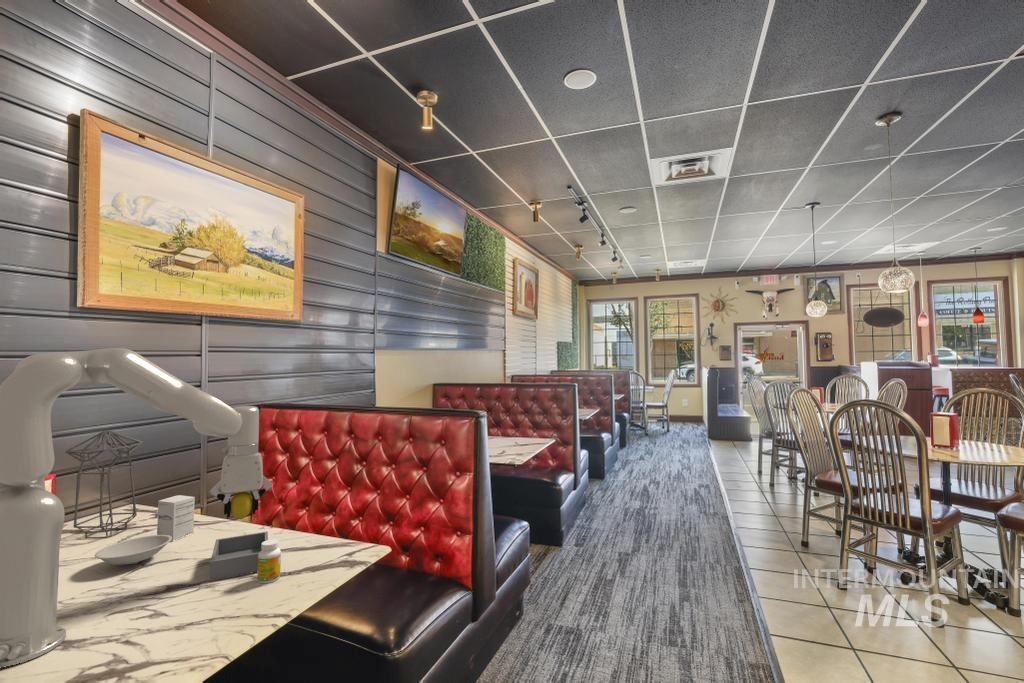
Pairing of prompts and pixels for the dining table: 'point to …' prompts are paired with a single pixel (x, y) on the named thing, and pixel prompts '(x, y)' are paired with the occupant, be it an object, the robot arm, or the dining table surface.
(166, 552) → the dining table surface
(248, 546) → the tote
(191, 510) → the supplement box
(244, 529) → the dining table surface
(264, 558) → the supplement bottle
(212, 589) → the dining table surface
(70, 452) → the geometric lantern
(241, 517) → the lemon
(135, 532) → the dining table surface
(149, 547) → the dish
